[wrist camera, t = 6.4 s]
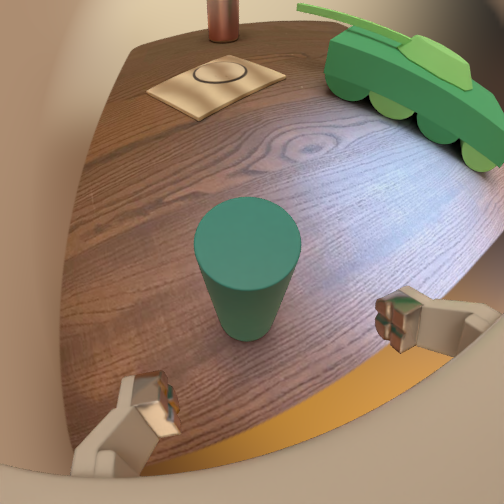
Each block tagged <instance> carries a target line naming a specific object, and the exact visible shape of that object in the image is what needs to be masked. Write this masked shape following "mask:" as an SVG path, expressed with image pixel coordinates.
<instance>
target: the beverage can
mask: <svg viewBox="0 0 504 504" xmlns="http://www.w3.org/2000/svg"><path fill="white" fill-rule="evenodd" d="M207 13H208V32H209V39H210V40H211V41H212V42H215V43H228V42H233V41H235V40H237V38H238V37H239V0H207Z"/></svg>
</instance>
